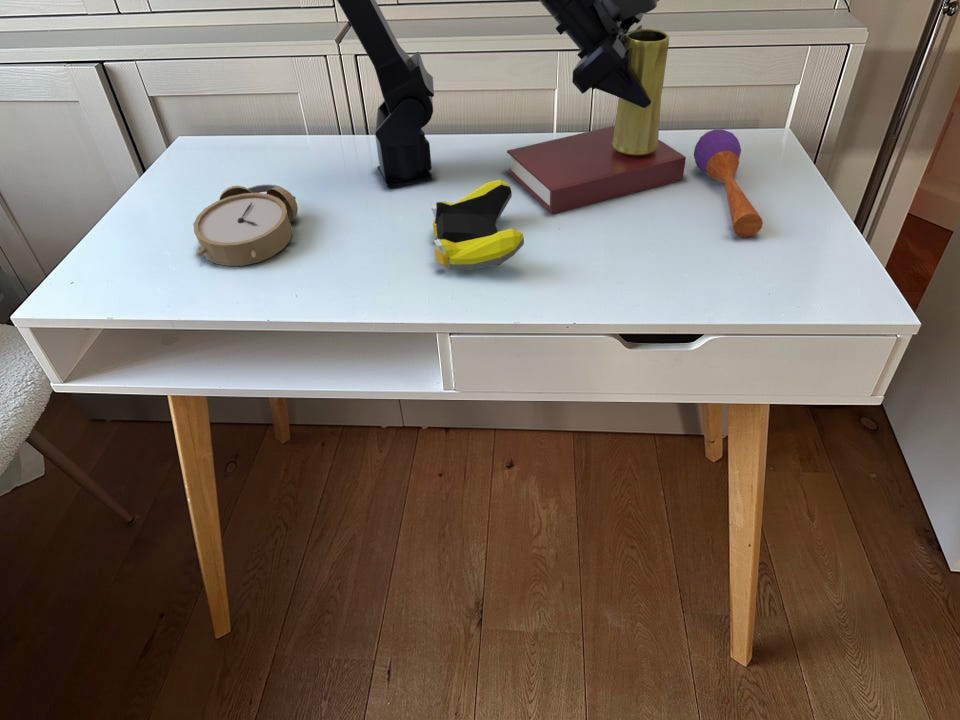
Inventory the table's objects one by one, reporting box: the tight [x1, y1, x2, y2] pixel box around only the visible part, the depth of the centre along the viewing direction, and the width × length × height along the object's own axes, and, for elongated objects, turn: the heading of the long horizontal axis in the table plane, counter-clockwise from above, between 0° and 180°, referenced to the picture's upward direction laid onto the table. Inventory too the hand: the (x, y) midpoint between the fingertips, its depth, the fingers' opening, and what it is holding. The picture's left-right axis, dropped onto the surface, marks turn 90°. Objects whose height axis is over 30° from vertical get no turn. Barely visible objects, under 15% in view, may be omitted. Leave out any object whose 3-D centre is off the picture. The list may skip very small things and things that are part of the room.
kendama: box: [693, 128, 764, 238], centre depth 91 cm, size 6×6×20 cm
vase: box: [612, 28, 670, 155], centre depth 92 cm, size 6×6×14 cm
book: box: [506, 125, 687, 215], centre depth 98 cm, size 20×13×3 cm, turn 113°
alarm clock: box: [192, 184, 299, 267], centre depth 90 cm, size 11×5×15 cm
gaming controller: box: [430, 179, 525, 271], centre depth 85 cm, size 15×6×10 cm
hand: (651, 97), depth 92 cm, fingers closed on vase, 5 cm apart
